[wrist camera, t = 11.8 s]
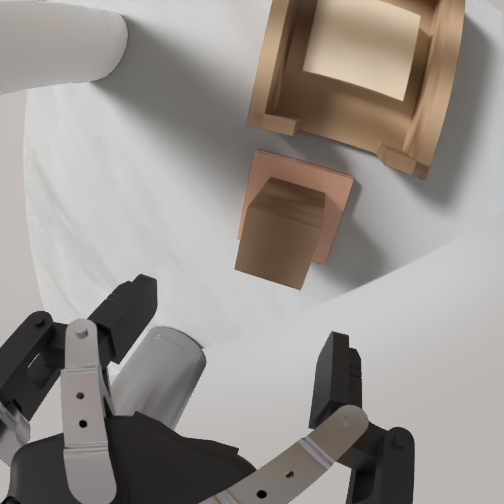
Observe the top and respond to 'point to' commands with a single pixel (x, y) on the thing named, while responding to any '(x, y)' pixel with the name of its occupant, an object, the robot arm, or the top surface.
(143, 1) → the top surface
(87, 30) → the bottle
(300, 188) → the walnut block
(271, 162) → the terracotta tile
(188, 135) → the top surface
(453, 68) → the oak box
